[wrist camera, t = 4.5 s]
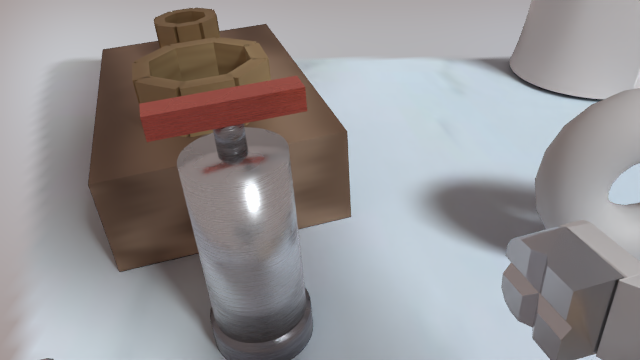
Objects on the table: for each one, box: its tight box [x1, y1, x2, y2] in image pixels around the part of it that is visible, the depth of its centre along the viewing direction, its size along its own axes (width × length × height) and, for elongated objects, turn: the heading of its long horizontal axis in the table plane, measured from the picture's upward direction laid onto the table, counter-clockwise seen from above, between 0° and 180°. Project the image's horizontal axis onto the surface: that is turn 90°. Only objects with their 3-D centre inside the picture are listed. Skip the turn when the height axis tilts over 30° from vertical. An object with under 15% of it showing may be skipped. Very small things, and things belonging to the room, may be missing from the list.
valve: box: [139, 76, 313, 360], centre depth 24 cm, size 6×5×12 cm
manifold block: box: [88, 8, 351, 272], centre depth 39 cm, size 14×22×9 cm, turn 17°
